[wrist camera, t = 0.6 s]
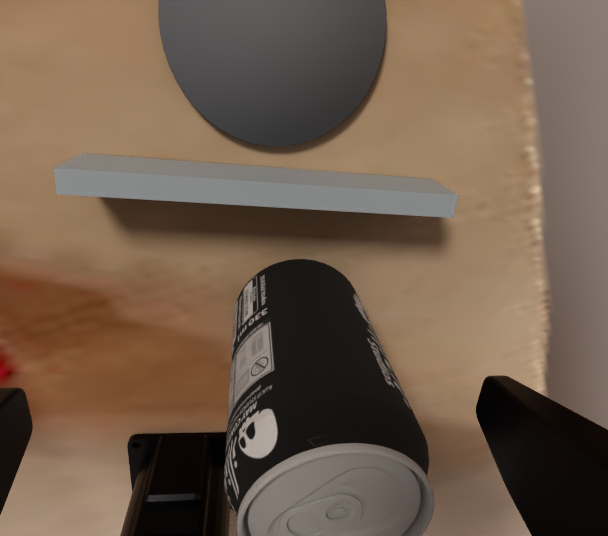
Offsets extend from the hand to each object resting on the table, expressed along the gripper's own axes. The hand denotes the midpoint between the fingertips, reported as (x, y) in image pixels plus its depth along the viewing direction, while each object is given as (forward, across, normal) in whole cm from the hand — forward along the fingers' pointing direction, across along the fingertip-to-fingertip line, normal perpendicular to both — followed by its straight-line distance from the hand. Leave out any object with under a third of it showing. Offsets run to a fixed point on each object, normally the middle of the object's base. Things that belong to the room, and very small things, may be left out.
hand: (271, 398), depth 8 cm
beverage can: (+13, -2, +5) cm, 15 cm away
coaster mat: (+13, -1, -8) cm, 15 cm away
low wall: (+13, 0, -2) cm, 13 cm away
